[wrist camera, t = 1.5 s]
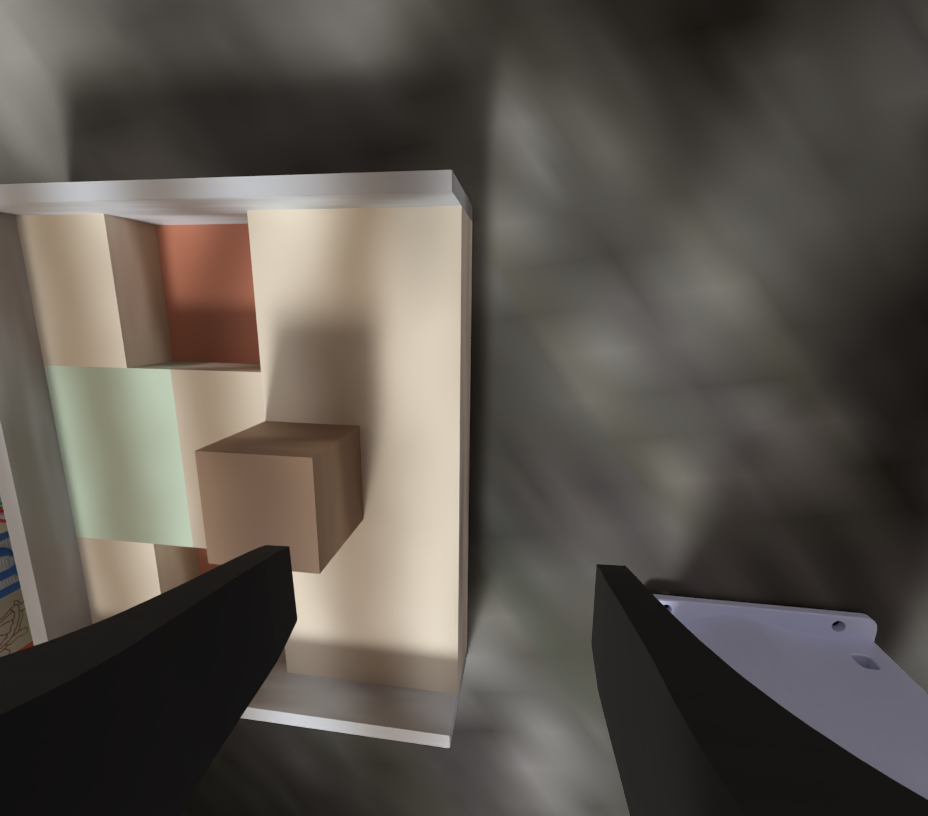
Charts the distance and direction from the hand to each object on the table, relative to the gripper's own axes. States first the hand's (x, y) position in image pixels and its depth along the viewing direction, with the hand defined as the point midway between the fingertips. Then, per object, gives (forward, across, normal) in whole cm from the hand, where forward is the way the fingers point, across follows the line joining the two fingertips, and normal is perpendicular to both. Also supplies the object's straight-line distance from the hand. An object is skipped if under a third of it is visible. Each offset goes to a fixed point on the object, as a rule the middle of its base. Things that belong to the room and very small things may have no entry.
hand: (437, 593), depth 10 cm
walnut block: (+8, +6, 0) cm, 10 cm away
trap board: (+11, +9, 0) cm, 14 cm away
